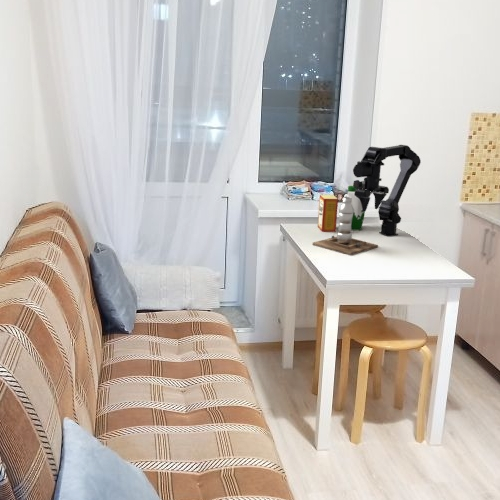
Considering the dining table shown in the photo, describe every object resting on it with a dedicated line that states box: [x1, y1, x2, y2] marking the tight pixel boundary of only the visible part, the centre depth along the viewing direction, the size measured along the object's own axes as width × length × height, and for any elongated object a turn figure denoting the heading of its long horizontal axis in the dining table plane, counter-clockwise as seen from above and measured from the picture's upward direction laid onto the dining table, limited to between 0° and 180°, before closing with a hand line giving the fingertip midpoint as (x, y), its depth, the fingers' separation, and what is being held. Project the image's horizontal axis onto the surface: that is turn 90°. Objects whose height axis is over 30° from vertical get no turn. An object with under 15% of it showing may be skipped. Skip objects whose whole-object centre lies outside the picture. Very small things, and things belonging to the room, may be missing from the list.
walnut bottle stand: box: [312, 235, 379, 256], centre depth 285 cm, size 20×20×3 cm
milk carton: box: [346, 185, 366, 231], centre depth 315 cm, size 9×9×20 cm
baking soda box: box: [317, 194, 339, 233], centre depth 311 cm, size 10×6×16 cm
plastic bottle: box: [336, 196, 354, 244], centre depth 283 cm, size 6×7×20 cm
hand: (370, 210), depth 296 cm, fingers open, 9 cm apart
